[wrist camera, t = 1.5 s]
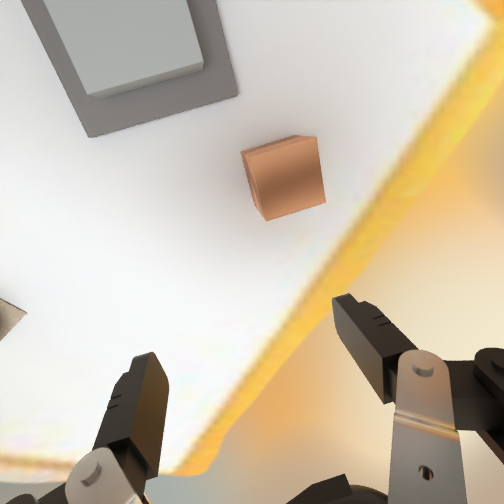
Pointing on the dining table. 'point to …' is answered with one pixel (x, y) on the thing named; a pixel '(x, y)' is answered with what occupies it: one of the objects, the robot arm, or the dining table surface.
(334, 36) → the dining table surface
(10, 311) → the condiment
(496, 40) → the dining table surface
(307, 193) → the cube
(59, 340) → the dining table surface
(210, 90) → the base
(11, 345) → the dining table surface
